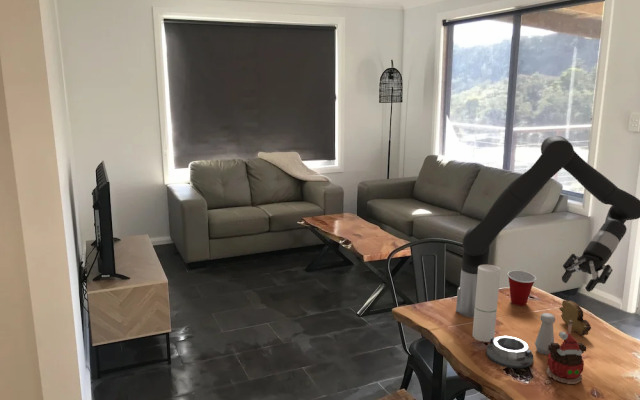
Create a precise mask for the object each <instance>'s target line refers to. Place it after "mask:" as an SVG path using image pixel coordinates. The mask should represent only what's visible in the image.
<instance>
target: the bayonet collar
mask: <svg viewBox="0 0 640 400" xmlns="http://www.w3.org/2000/svg"><path fill="white" fill-rule="evenodd" d="M529 348H530V347H529V345H528V343H527V342H526V341H524V340H522V339H520V338H517V337H515V336H511V335H510V336H509V335H500V336H494V337H493V338H491V339H490V342H489V344H488V345H487V347H486V351H485V354H486V357H487V358H488V360H490V361H491V362H493V363H494V364H497V365H498V366H501V367H504V368H508V369H517V370H518V369H525V368H529V367H530V366H532V365H533V361H534V354H533V353H532V350H531V349H529Z"/></svg>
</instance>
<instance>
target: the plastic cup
mask: <svg viewBox="0 0 640 400" xmlns="http://www.w3.org/2000/svg"><path fill="white" fill-rule="evenodd" d="M506 276H507V277H508V284H509V295H510V296H509V297H510V302H511V304H513V305H514V306H519V307H523V306H526V305H527V303H528V300H529V297H530V295H531V292H532V291H531V290H532V288H533V286H534V283H535V282H536V281H537V277H536V275H535V274H532V273H531V272H528V271H526V270H525V271H524V270H519V269H518V270H517V269H513V270H510V271H508V272H507V275H506Z"/></svg>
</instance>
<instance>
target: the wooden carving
mask: <svg viewBox="0 0 640 400" xmlns="http://www.w3.org/2000/svg"><path fill="white" fill-rule="evenodd" d="M561 304H562V305H561V306H560V307H558V308H559V311H560V312H561V315H560V317H561V319H562V321H563V322H564V324H565V325H566V327H568V324H569V320H571V321H572V328H571V332H577V334H578V335H579V336H581V337H584V336H587V335H589V332H590V331H591V330H592V326H591V324H590V322H589V321H588V320H587V319H584V311H583V309H582V307H581V306H580V305H579V304H578V303H576V301H575V302H574V301H573V300H569V299H564V300H563V299H562V303H561Z"/></svg>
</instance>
